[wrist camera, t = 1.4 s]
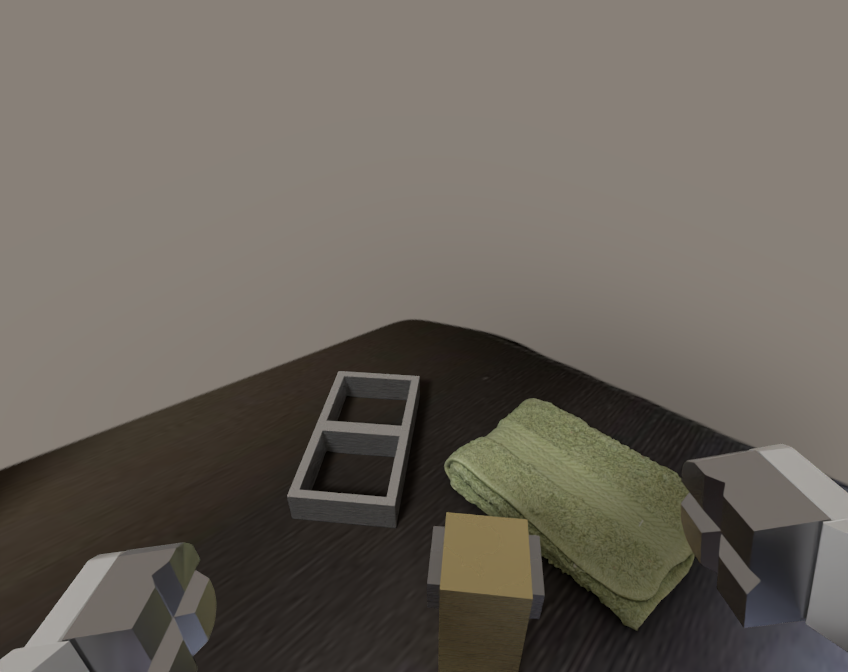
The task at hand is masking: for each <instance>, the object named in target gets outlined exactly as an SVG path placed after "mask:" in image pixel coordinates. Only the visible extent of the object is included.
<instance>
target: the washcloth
mask: <svg viewBox="0 0 848 672" xmlns="http://www.w3.org/2000/svg"><path fill="white" fill-rule="evenodd" d="M444 467H445V471H446V473H447V475H448V477H449V478H450V480H451V486H452V487H453V489H454V490H456V491H457V492H458V493H459V494H461V495H462V496H463V497H465V499H466V500H467V501H468V502H470V503H473V504H476V505H477V506H478V508H480V509H481V510H483V511H484V512H485V513H486V514H487V515H489V516H494V517H505V518H517V519H528V534H529V535H537V536H540V548H541V556H543V557H544V558H547V559H549V560H548V563H549V564H554V566H555V567H557V568H560V569H561V570H562V572H563V573H567V574H568V575H571V576H572V577H573V578H574V580H575V581H576V582H577V584H580V586H582V587H585V588H586V590H587V591H590V590H591V591H592V592H593V593H594V594H596V595H597V596H598V597H599V599H600V601H601V603H603V604H605V605H606V606H607V607H609V608H610V609H611V610H612V611H613V612H614V613H615V614H616V615H617V616H619V618H620V619H621V621H622V623H623V624H624V625H625V626H628V627H631V628H632V629H634V630H636V631H637V630H638V628H639V627H640V626H641V625H642V624H643V622H644V620H645V619H646V618H647V617H648V616H649V614H650V613H651V612H652V611H653V610H654V608H655V607H656V606H657V605H658V603H660V601H661V600H662V599H664V597H666V596H667V595H668V594H669V593H670V591H672V590H673V589H674V588H675V586H676V585H677V584H678V583H679V582H680V581H681V580H682V578H683V577H684V576H685V575H686V574H687V573H688V572H689V569H690V567H691V565H692V563H693V560H694V557H695V555H694V553H693V552H692V550H691V548H690V546H689V544H688V542H687V539H686V537H685V534H684V530H683V526H682V522H681V502H682V501H683V500H684V499H685V497H686V496H687V495H688V493H689V491H688V490H687V488H686V487H685V486H684V484H683V483H682V482H681V478H680V477H679V476H678V474H677V473H676V472H674V471H672V470H670V469H669V468H667V467H665V466H660V465H659V464H657V463H656V462H653V461H651V460H649V457H644V456H642V455H641V454H639V453H638V452H636V451H634V450H633V449H632V450H630V448H629V447H628V446H625V445H621V444H620V443H619V441H617V440H614V439H611V437H610V436H606V435H605V434H602V433H601V432H600V431H597V429H594V428H591V427H589V426H588V424H587V423H586V422H584V421H583V420H582V419H581V418H579V417H575V416H574V415H573V414H569V413H567V412H566V411H563V410H562V409H559V408H558V407H556V406H554V405H552V403H548V402H545V401H541V400H538V399H535V398H532V399H527V400H525V401H523V402H522V404H520V405H519V407H518V408H516V409H515V410H514V411H513V412H512V413H511V414H508V416H507V417H506V418H504V419H502V420H501V421H500V422H499V424H498V426H497V428H496V429H494V430H493V431H492V432H491V433H490V434H488V435H487V436H486V437H480V438H478V439H476V440H475V441H474V440H473V441H470V443H469V444H466V445H464V446H462V447H460V448H459V449H458V450H457V451H456V452H454V453H453V454H452V455H451V456H450V457H449V459H448V460H446V462H445V465H444Z"/></svg>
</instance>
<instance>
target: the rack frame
mask: <svg viewBox="0 0 848 672" xmlns="http://www.w3.org/2000/svg"><path fill="white" fill-rule="evenodd" d="M346 396H351V397H366V398H381V399H396V400H407V403H406V408H405V413H404V418H403V422H402V426H396V425H382V424H368V423H354V422H340V421H337V420H338V418H339V415H340V412H341V410H342V407H343V404H344V401H345V399H346ZM419 399H420V376H408V375H392V374H376V373H360V372H344V371H339V372H338V374H337V376H336V379H335V381H334V384H333V386H332V388H331V391H330V393H329V396H328V398H327V401H326V403H325V405H324V408H323V410H322V413H321V415H320V418H319V420H318V422H317V425H316V427H315V430H314V432H313V434H312V437H311V439H310V442H309V444H308V447H307V449H306V451H305V454H304V456H303V459H302V461H301V464H300V466H299V468H298V471H297V473H296V476H295V478H294V481H293V483H292V485H291V488H290V490H289V493H288V495H287V499H288V503H289V507H290V511H291V515H292V518H294V519H305V520H316V521H327V522H337V523H348V524H359V525H370V526H381V527H391V528H396V526H397V520H398V515H399V509H400V504H401V498H402V493H403V487H404V482H405V476H406V471H407V465H408V460H409V454H410V449H411V443H412V438H413V432H414V427H415V421H416V416H417V410H418V405H419ZM326 452H338V453H351V454H364V455H376V456H389V457H395V460H394V465H393V469H392V474H391V479H390V484H389V488H388V493H387V497H380V496H368V495H357V494H345V493H333V492H322V491H312V489H313V486H314V483H315V480H316V478H317V475H318V472H319V469H320V467H321V464H322V461H323V459H324V456H325V453H326Z"/></svg>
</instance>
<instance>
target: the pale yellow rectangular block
mask: <svg viewBox="0 0 848 672" xmlns="http://www.w3.org/2000/svg"><path fill="white" fill-rule="evenodd" d="M544 597H545V593H544V582H543V570H542V559H541V548H540V536H537V535H529V534H528V519H517V518H505V517H494V516H483V515H471V514H460V513H449V512H447V513H446V524H445V527H439V526H434V527H433V536H432V545H431V554H430V563H429V572H428V581H427V607H430V608H439V672H518V670H519V665H520V660H521V656H522V651H523V646H524V641H525V636H526V631H527V626H528V621H529V618H532V619H540V614H541V610H542V605H543V601H544Z"/></svg>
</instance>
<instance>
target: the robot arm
mask: <svg viewBox="0 0 848 672" xmlns="http://www.w3.org/2000/svg"><path fill="white" fill-rule="evenodd" d="M681 482H682V483H683V484H684V486H685V487H686V488H687V490H688V491H689V493H688V495H687V496H686V497H685V499H684V500H683V501H682V502H681V522H682V526H683V530H684V534H685V537H686V539H687V542H688V544H689V546H690V548H691V550H692V552H693V553H694V555H695V556H696V558H697V559H698V561H699V562H700V564H701V565H703V566H705V567H707V568H708V569H710V570H712V571H714V572H715V573H717V574H718V578H717V589H718V591H719V592H720V594H721V595H722V597H723V598H724V599H725V601H726V602H727V604H728V605H729V607H730V608H731V610H732V611H733V613H734V614H735V616H736V617H737V618H738V620H739V621H740V623H741V624H742V626H743V627H744V628H749V627H757V626H765V625H774V624H782V623H790V622H799V621H806V624H807V625H808V626H810V627H811V628H813V629H814V630H815V631H817V632H818V633H820V634H821V635H823V636H824V637H826V638H827V639H829V640H830V641H832V642H833V643H835V644H836V645H838V646H839V647H841V648H842V649H844V650H845V651H847V652H848V493H847V492H846V491H845V490H844V489H842V488H841V487H840V486H839V485H837V484H836V483H835V482H834V481H833V480H831V479H830V478H829V477H828V476H826V475H825V474H824V473H823V472H822V471H820V470H819V469H818V468H817V467H815V466H814V465H813V464H812V463H811V462H809V461H808V460H807V459H806V458H805V457H803V456H802V455H801V454H800V453H798V452H797V451H796V450H795V449H794V448H792V447H791V446H788V445H785V444H782V443H781V444H776V445H770V446H765V447H759V448H754V449H749V450H748V451H741V452H735V453H729V454H723V455H717V456H711V457H705V458H699V459H693V460H688V461H685V463H684V465H683V467H682V477H681ZM199 561H200V558H199V556H198V554H197V552H196V550H195V548H194V547H193V545H192V544H188V543H184V542H183V543H176V544H169V545H162V546H154V547H147V548H140V549H133V550H127V551H123V552H115V553H108V554H101V555H98V556H96V557H94V558H92V559H91V560H89V561H88V562H87V563H86V565H85V566H84V567H83V569H82V570H81V571H80V573H79V574H78V575H77V577H76V578H75V579H74V581H73V582H72V583H71V585H70V586H69V588H68V589H67V590H66V592H65V593H64V594H63V596H62V597H61V598H60V600H59V601H58V602H57V604H56V605H55V606H54V608H53V609H52V611H51V612H50V613H49V615H48V616H47V617H46V619H45V620H44V621H43V623H42V624H41V625H40V627H39V628H38V630H37V631H36V632H35V634H34V635H33V636H32V638H31V639H30V640H29V642H28V643H27V644H26V646H25V647H24V648H19V649H14V650H12V651H11V652H10V653H8V654H7V655H6V656H4V657H3V658H2V659H0V672H196V671H197V669H198V667H197V664H196V661H195V658H194V655H195V654H196V653H197V652H198V651H199V650H200V648H201V647H202V646H203V645H204V644H205V643H206V642H207V641H208V640H209V637H210V634H211V632H212V629H213V626H214V623H215V614H216V598H215V592H214V588H213V586H212V584H211V582H210V579H209V578H207V577H206V576H204V575H202V574H201V573H199V572H198V571H196V568H197V566H198V563H199Z"/></svg>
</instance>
